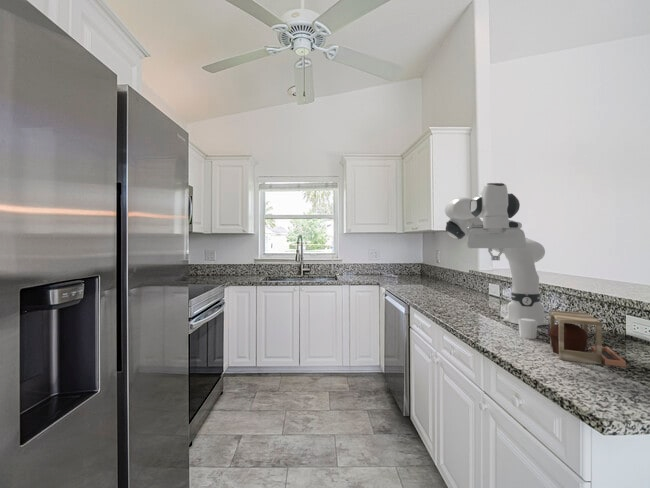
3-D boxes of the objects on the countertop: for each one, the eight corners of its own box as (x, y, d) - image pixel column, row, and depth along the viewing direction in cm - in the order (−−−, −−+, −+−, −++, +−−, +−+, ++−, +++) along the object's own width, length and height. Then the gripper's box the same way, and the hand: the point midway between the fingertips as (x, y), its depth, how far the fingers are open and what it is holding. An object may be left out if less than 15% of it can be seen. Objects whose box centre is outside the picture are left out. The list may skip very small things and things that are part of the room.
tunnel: (550, 345, 127) (550, 310, 127) (586, 349, 123) (586, 312, 123) (559, 359, 112) (559, 319, 112) (601, 364, 108) (601, 322, 108)
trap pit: (590, 350, 122) (590, 345, 122) (608, 351, 120) (608, 347, 120) (605, 364, 107) (605, 359, 107) (625, 366, 105) (625, 361, 105)
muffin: (571, 348, 124) (571, 320, 124) (597, 358, 113) (597, 327, 113) (540, 348, 124) (540, 320, 124) (563, 359, 113) (563, 328, 113)
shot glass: (540, 339, 135) (540, 321, 135) (521, 338, 137) (521, 321, 137) (533, 335, 142) (533, 318, 142) (515, 334, 144) (515, 317, 144)
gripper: (466, 224, 135) (466, 260, 135) (526, 223, 126) (526, 261, 126) (466, 225, 141) (466, 259, 141) (524, 224, 132) (524, 260, 132)
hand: (495, 260), depth 133 cm, fingers closed
